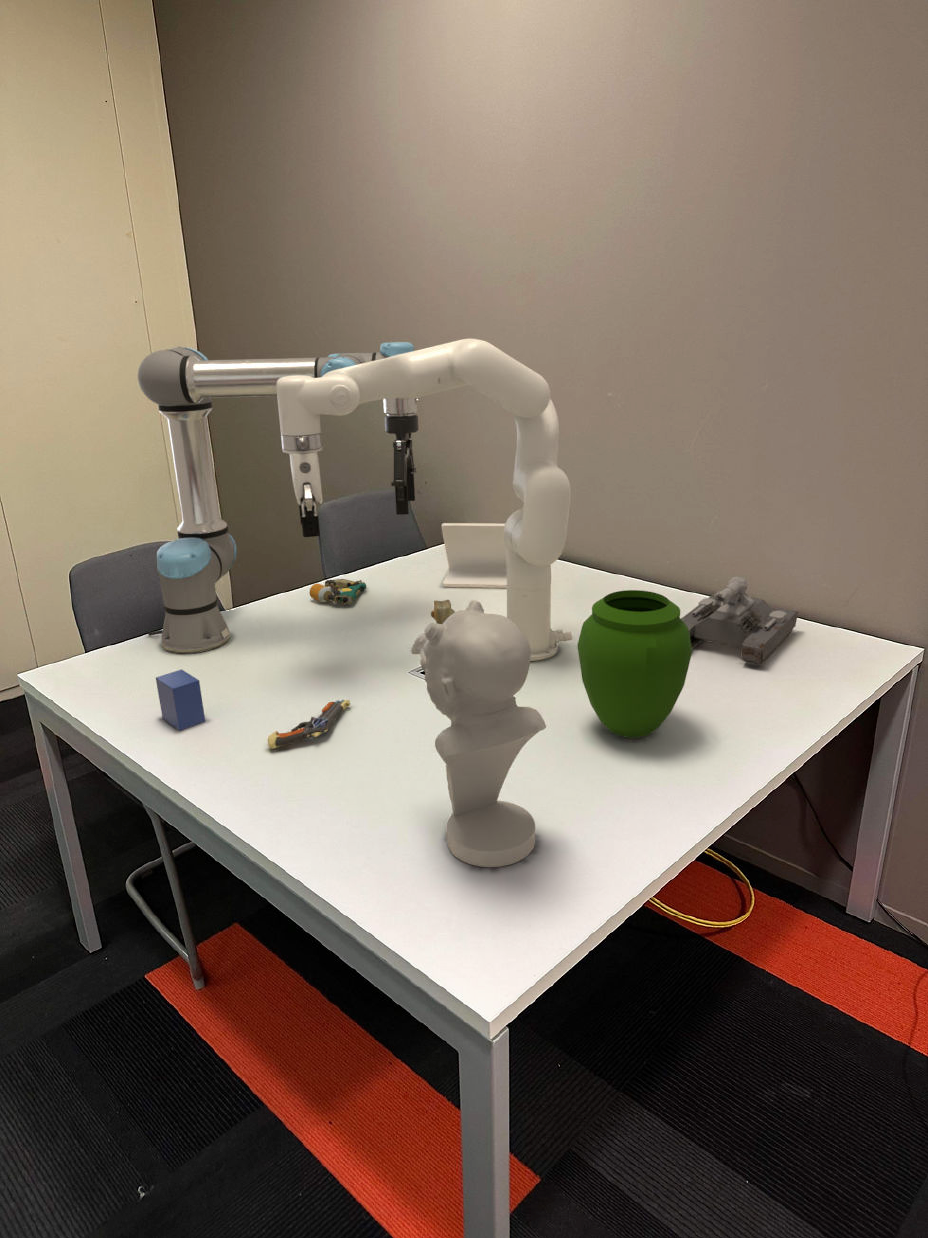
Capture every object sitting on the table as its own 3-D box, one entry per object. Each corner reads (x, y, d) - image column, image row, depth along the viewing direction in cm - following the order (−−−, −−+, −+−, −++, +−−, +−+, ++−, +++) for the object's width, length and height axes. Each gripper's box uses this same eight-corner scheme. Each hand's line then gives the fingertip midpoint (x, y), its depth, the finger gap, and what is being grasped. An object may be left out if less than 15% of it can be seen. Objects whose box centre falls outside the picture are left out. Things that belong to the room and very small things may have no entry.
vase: (701, 718, 156) (710, 592, 147) (663, 766, 141) (671, 629, 132) (602, 695, 166) (606, 576, 157) (557, 738, 151) (558, 608, 142)
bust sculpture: (481, 772, 140) (476, 569, 128) (565, 848, 120) (569, 617, 108) (392, 800, 134) (378, 588, 121) (465, 886, 114) (457, 642, 101)
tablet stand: (534, 588, 228) (534, 526, 222) (442, 586, 231) (439, 525, 225) (538, 568, 245) (538, 509, 239) (451, 566, 248) (449, 509, 242)
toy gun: (262, 738, 148) (316, 736, 146) (302, 698, 166) (350, 695, 164) (265, 752, 149) (319, 750, 147) (304, 710, 167) (353, 708, 165)
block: (188, 709, 166) (181, 669, 163) (205, 721, 161) (199, 680, 158) (162, 718, 163) (155, 677, 160) (179, 730, 158) (172, 688, 155)
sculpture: (458, 662, 183) (456, 596, 178) (460, 676, 176) (457, 608, 171) (431, 663, 183) (428, 597, 177) (431, 677, 176) (428, 609, 171)
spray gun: (334, 586, 236) (381, 594, 231) (299, 601, 222) (348, 610, 216) (334, 571, 235) (381, 579, 229) (298, 586, 221) (348, 594, 215)
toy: (710, 615, 205) (715, 555, 200) (796, 631, 194) (803, 568, 189) (667, 650, 186) (671, 585, 181) (759, 670, 175) (767, 601, 170)
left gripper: (411, 421, 180) (416, 519, 187) (423, 407, 203) (426, 495, 210) (376, 422, 180) (382, 520, 188) (391, 407, 203) (396, 495, 211)
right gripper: (324, 448, 156) (332, 539, 162) (319, 435, 171) (326, 518, 177) (283, 451, 154) (292, 543, 160) (281, 437, 170) (289, 521, 176)
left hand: (406, 507), depth 199 cm, fingers open, 13 cm apart
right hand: (310, 530), depth 169 cm, fingers open, 9 cm apart
